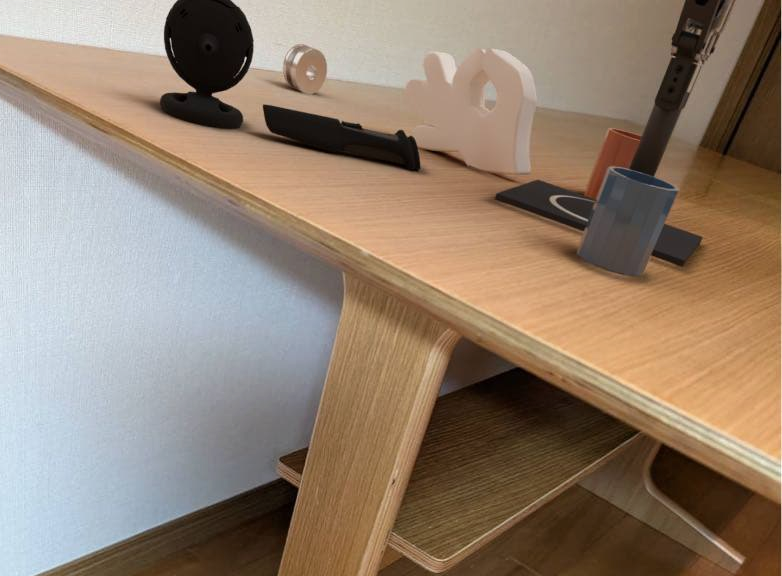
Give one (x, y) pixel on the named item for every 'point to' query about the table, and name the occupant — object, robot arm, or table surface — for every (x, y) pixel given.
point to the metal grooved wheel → (305, 68)
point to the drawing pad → (578, 209)
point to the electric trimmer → (342, 136)
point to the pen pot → (612, 157)
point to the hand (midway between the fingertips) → (668, 107)
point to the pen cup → (626, 221)
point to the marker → (657, 136)
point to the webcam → (207, 59)
